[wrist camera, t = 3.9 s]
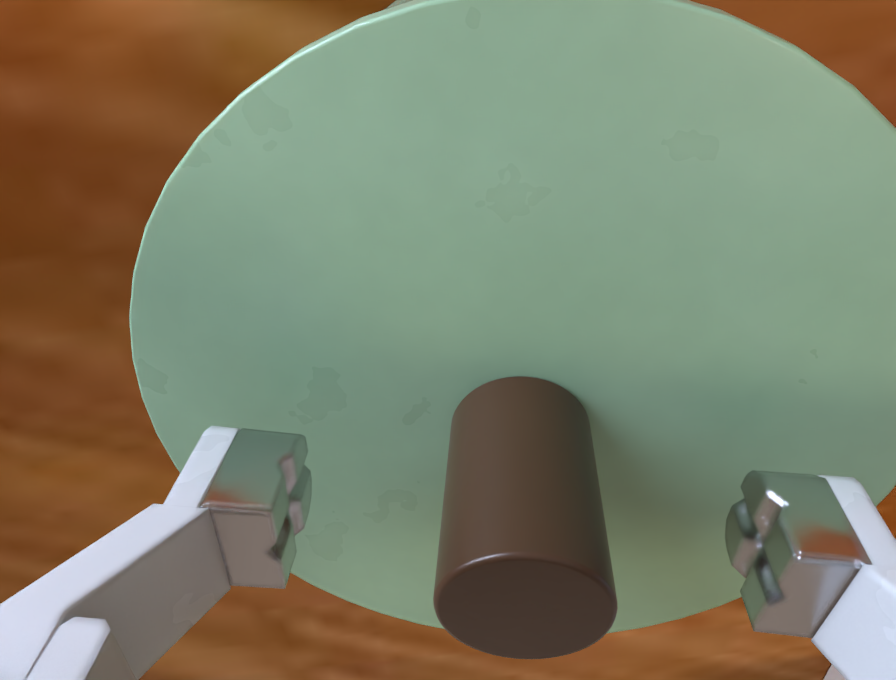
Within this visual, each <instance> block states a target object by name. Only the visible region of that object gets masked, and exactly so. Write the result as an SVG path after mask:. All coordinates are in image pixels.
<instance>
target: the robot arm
mask: <svg viewBox="0 0 896 680" xmlns="http://www.w3.org/2000/svg"><path fill="white" fill-rule="evenodd" d="M307 454H308V447H307V441H306V437H305V436H304V435H302V434H293V433H283V432H274V431H264V430H255V429H245V428H242V429H239V428H230V427H221V426H211V427H209V428H208V429H207V430H206V431H204V432H203V434H202V436H201V438H200V439H199V441H198V443H197V445H196V447H195V448H194V450H193V452H192V454H191V455H190V457H189V459H188V461H187V462H186V464H185V466H184V468H183V470H182V471H181V473H180V475H179V477H178V478H177V480H176V482H175V484H174V486H173V487H172V489H171V491H170V493H169V494H168V496H167V498H166V500H165V502H164V503H163V504H152V505H151V506H149V507H148V508H146V509H145V510H143V511H142V512H140V513H139V514H137V515H136V516H134V517H132V518H131V519H129V520H128V521H126V522H125V523H123V524H122V525H120V526H119V527H117V528H116V529H114V530H113V531H111V532H110V533H108V534H107V535H105V536H104V537H102V538H100V539H99V540H97V541H96V542H94V543H93V544H91V545H90V546H88V547H87V548H85V549H84V550H82V551H81V552H79V553H78V554H76V555H75V556H73V557H71V558H70V559H68V560H67V561H65V562H64V563H62V564H61V565H59V566H58V567H56V568H55V569H53V570H52V571H50V572H49V573H47V574H46V575H44V576H43V577H41V578H39V579H38V580H36V581H35V582H33V583H32V584H30V585H29V586H27V587H26V588H24V589H23V590H21V591H20V592H18V593H17V594H15V595H14V596H12V597H10V598H9V599H7V600H6V601H4V602H3V603H1V604H0V680H138V679H139V678H140V677H141V676H143V675H144V674H145V673H146V672H147V671H148V670H149V669H150V668H151V667H152V666H153V665H154V664H155V663H156V662H157V661H158V660H159V659H160V658H161V657H162V656H163V655H164V654H165V653H166V652H167V651H168V650H169V649H170V648H171V647H172V646H173V645H174V644H175V643H176V642H177V641H178V640H179V639H180V638H181V637H182V636H183V635H184V634H185V633H186V632H187V631H188V630H189V629H190V628H191V627H192V626H193V625H194V624H195V623H196V622H197V621H198V620H199V619H200V618H201V617H203V616H204V615H205V614H206V613H207V612H208V611H209V610H210V609H211V608H212V607H213V606H214V605H215V604H216V603H217V602H218V601H219V600H220V599H221V598H222V597H223V596H224V595H225V594H226V593H227V592H228V591H229V590H230V589H231V587H230V585H233V586H249V587H265V588H281V589H285V587H286V584H287V581H288V578H289V574H290V571H291V568H292V565H293V562H294V559H295V556H296V553H297V550H296V543H295V537H294V536H295V535H297V534H298V533H299V532H300V531H301V530H303V529H304V528H305V524H306V521H307V518H308V514H309V509H310V503H311V497H312V477H311V471H310V470H309V469H308V468H307V467H306V466H305V465H304V462H305V460H306V457H307ZM740 487H741V490H742V493H743V495H744V498H743V499H742V500H740V501H739V502H737V503H735V504H734V505H732V506H731V509H730V511H729V514H728V516H727V519H726V527H725V542H726V549H727V553H728V556H729V559H730V562H731V565H732V566H733V567H734V568H735V569H736V570H737V571H738V572H739V573H740V574H741V575H742V576H743V577H744V578H746V579H745V581H744V583H743V586H742V588H741V590H740V593H741V596H742V598H743V601H744V604H745V607H746V610H747V613H748V616H749V619H750V622H751V625H752V628H753V631H756V632H765V633H773V634H782V635H791V636H799V637H808V638H812V640H811V641H812V642H813V644H814V645H815V646H816V647H817V648H818V649H819V650H820V651H821V652H822V654H823V655H824V656H825V657H826V658H827V659H828V660H829V661H830V663H831V664H832V665H833V666H834V667H835V668H836V669H837V670H838V672H839V673H840V674H841V675H842V676H843V677H844V678H845V679H846V680H896V540H895V538H894V537H893V535H892V533H891V532H890V530H889V528H888V527H887V525H886V523H885V522H884V520H883V518H882V517H881V515H880V513H879V512H878V510H877V509H876V507H875V505H874V504H873V502H872V500H871V499H870V497H869V495H868V494H867V492H866V490H865V489H864V487H863V485H862V484H861V483H860V482H859V481H858V480H856V479H855V478H854V477H842V476H828V475H814V474H800V473H786V472H772V471H757V470H752V471H750V472H749V473H748V474H747V475H746V476H745V478H744V480H743V482H742V484H741V486H740Z"/></svg>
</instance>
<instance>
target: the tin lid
mask: <svg viewBox="0 0 896 680" xmlns="http://www.w3.org/2000/svg"><path fill="white" fill-rule="evenodd" d="M129 320H130V333H131V345H132V358H133V363H134V367H135V371H136V375H137V379H138V383H139V387H140V392H141V396H142V399H143V401H144V404H145V406H146V409H147V411H148V414H149V416H150V419H151V421H152V423H153V426H154V428H155V431H156V433H157V435H158V437H159V439H160V440H161V442H162V444H163V446H164V447H165V449H166V451H167V452H168V454H169V456H170V458H171V459H172V461H173V463H174V465H175V466H176V468H177V469H178V470H179V472H180V473H181V471H182V470H183V468H184V466H185V464H186V462H187V461H188V459H189V457H190V455H191V454H192V452H193V450H194V448H195V447H196V445H197V443H198V441H199V439H200V438H201V436H202V434H203V432H204V431H206V430H207V429H208V428H209V427H211V426H221V427H230V428H239V429H242V428H245V429H255V430H264V431H274V432H283V433H293V434H302V435H304V436H305V437H306V441H307V447H308V454H307V457H306V460H305V462H304V465H305V466H306V467H307V468H308V469H309V470H310V471H311V477H312V497H311V503H310V509H309V514H308V518H307V521H306V524H305V528H304V529H303V530H301V531H300V532H299V533H298V534H297V535H295V536H294V537H295V543H296V550H297V553H296V556H295V559H294V562H293V565H292V568H291V571H290V572H291V573H292V574H294V575H296V576H298V577H299V578H301V579H303V580H305V581H307V582H308V583H310V584H312V585H314V586H316V587H318V588H320V589H322V590H324V591H327V592H329V593H331V594H333V595H335V596H338V597H340V598H342V599H344V600H346V601H349V602H352V603H354V604H357V605H360V606H363V607H365V608H368V609H371V610H374V611H376V612H379V613H382V614H385V615H389V616H392V617H396V618H400V619H403V620H407V621H410V622H414V623H417V624H422V625H427V626H432V627H437V628H442V629H445V630H446V631H447V632H448V633H450V634H451V635H452V636H453V637H454V638H456V639H457V640H459V641H460V642H462V643H464V644H466V645H468V646H470V647H472V648H474V649H477V650H479V651H482V652H485V653H489V654H492V655H497V656H502V657H508V658H516V659H543V658H552V657H559V656H563V655H567V654H571V653H574V652H577V651H580V650H582V649H584V648H587V647H588V646H590V645H592V644H594V643H595V642H597V641H598V640H600V639H601V638H602V637H603V636H604V635H605V634H606V633H612V632H618V631H624V630H631V629H637V628H643V627H647V626H651V625H656V624H660V623H664V622H668V621H672V620H677V619H681V618H684V617H687V616H690V615H693V614H696V613H699V612H703V611H706V610H709V609H712V608H715V607H718V606H721V605H723V604H725V603H728V602H730V601H733V600H735V599H737V598H740V597H742V596H741V593H740V590H741V588H742V586H743V583H744V581H745V579H746V578H744V577H743V576H742V575H741V574H740V573H739V572H738V571H737V570H736V569H735V568H734V567H733V566H732V565H731V562H730V559H729V556H728V553H727V549H726V542H725V527H726V519H727V516H728V514H729V511H730V509H731V506H732V505H734V504H735V503H737V502H739V501H740V500H742V499H743V498H744V495H743V493H742V490H741V487H740V486H741V484H742V482H743V480H744V478H745V476H746V475H747V474H748V473H749V472H750V471H752V470H757V471H772V472H786V473H800V474H814V475H828V476H842V477H854V478H855V479H856V480H858V481H859V482H860V483H861V484H862V485H863V487H864V489H865V490H866V492H867V494H868V495H869V497H870V499H871V500H872V502H873V504H874V505H875V507H876V506H877V505H878V504H879V503H880V502H881V501H882V500H883V499H884V498H885V497H886V496H887V495H888V494H889V493H890V492H891V490H892V489H893V488H894V486H895V485H896V128H895V127H894V126H893V125H892V124H891V123H890V122H889V121H888V120H887V119H886V118H885V117H884V116H883V115H882V114H881V113H880V112H879V111H878V110H877V109H876V108H875V107H874V106H873V105H872V104H871V103H870V102H869V101H868V100H867V99H866V98H865V97H864V96H863V95H862V94H861V93H860V92H859V91H858V90H857V89H856V88H855V86H853V85H852V84H850V83H849V82H847V81H846V80H845V79H843V78H842V77H840V76H839V75H837V74H836V73H835V72H833V71H832V70H830V69H829V68H827V67H826V66H825V65H823V64H822V63H820V62H819V61H817V60H816V59H814V58H813V57H812V56H810V55H809V54H807V53H806V52H804V51H803V50H802V49H800V48H799V47H797V46H795V45H793V44H792V43H790V42H788V41H786V40H784V39H782V38H780V37H778V36H776V35H774V34H772V33H769V32H767V31H765V30H763V29H761V28H759V27H757V26H755V25H752V24H750V23H748V22H746V21H744V20H742V19H740V18H737V17H735V16H733V15H731V14H729V13H727V12H725V11H723V10H720V9H717V8H713V7H710V6H706V5H703V4H699V3H696V2H692V1H689V0H413V1H410V2H407V3H404V4H401V5H398V6H395V7H391V8H388V9H385V10H382V11H379V12H376V13H373V14H370V15H367V16H364V17H362V18H360V19H358V20H356V21H354V22H352V23H350V24H348V25H346V26H344V27H342V28H340V29H338V30H336V31H334V32H332V33H330V34H328V35H327V36H325V37H323V38H321V39H319V40H317V41H315V42H313V43H311V44H309V45H307V46H305V47H303V48H302V49H300V50H299V51H298V52H296V53H295V54H293V55H292V56H291V57H289V58H288V59H286V60H285V61H284V62H282V63H281V64H280V65H278V66H277V67H275V68H274V69H273V70H271V71H270V72H269V73H267V74H266V75H264V76H263V77H262V78H260V79H259V80H257V81H256V82H255V83H253V84H252V85H251V86H249V87H248V88H247V89H246V90H244V91H243V92H242V93H240V94H239V95H238V96H237V97H236V98H235V100H234V101H233V102H232V103H231V104H230V105H229V106H228V107H227V108H226V109H225V110H224V111H223V112H222V113H221V114H220V115H219V116H218V117H217V118H216V119H215V120H214V121H213V122H212V123H211V124H210V125H209V126H208V127H207V128H206V129H205V130H204V131H203V132H202V133H201V134H200V135H199V136H198V137H197V139H196V140H195V142H194V143H193V144H192V146H191V147H190V149H189V150H188V152H187V153H186V154H185V156H184V157H183V159H182V160H181V161H180V163H179V164H178V166H177V167H176V169H175V170H174V171H173V173H172V174H171V176H170V177H169V179H168V180H167V182H166V184H165V186H164V188H163V190H162V193H161V195H160V197H159V199H158V201H157V203H156V205H155V207H154V210H153V212H152V214H151V216H150V218H149V220H148V222H147V224H146V227H145V231H144V234H143V238H142V242H141V245H140V249H139V253H138V256H137V260H136V264H135V267H134V271H133V282H132V293H131V304H130V315H129Z"/></svg>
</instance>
